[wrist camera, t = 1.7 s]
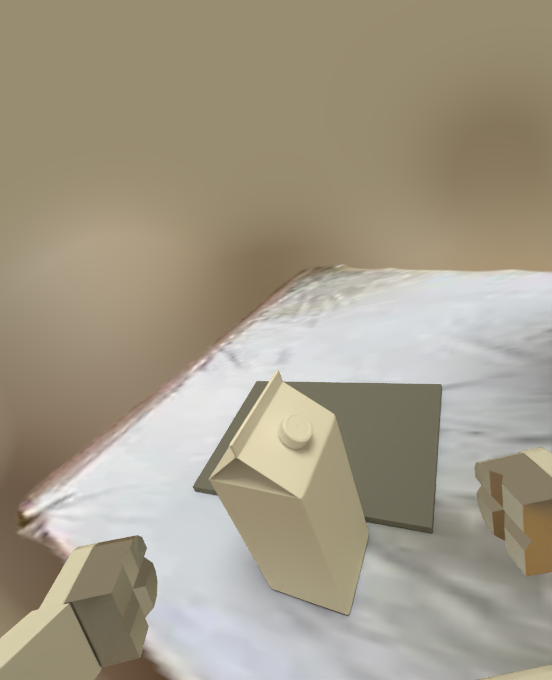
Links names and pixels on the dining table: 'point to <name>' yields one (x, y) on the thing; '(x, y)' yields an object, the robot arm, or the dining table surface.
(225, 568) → the dining table surface
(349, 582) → the milk carton
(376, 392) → the mat
